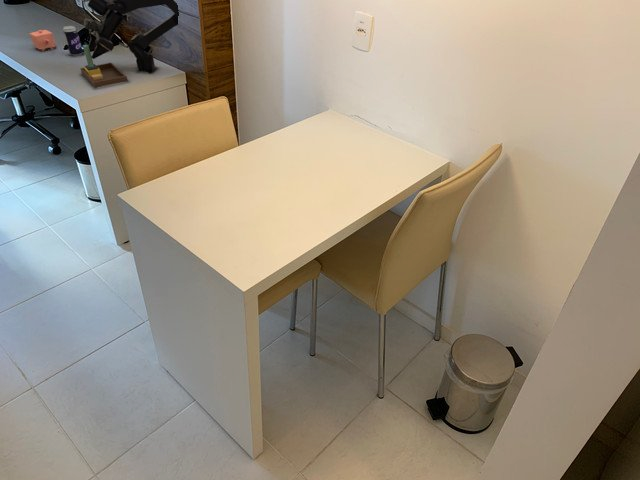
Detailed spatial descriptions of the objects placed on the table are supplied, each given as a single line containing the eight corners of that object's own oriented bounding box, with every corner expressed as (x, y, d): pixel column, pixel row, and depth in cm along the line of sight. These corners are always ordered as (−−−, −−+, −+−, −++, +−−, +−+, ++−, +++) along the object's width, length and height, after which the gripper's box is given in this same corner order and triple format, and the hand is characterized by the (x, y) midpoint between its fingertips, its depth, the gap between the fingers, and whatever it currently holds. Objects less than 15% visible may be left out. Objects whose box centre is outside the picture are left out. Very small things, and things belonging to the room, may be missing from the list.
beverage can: (74, 57, 225) (66, 30, 217) (67, 54, 227) (59, 27, 220) (85, 54, 228) (78, 27, 221) (79, 51, 231) (71, 24, 223)
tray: (81, 74, 208) (80, 68, 207) (112, 68, 215) (111, 62, 213) (95, 88, 197) (93, 82, 195) (127, 82, 203) (126, 76, 201)
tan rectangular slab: (101, 76, 206) (100, 73, 205) (103, 78, 204) (102, 75, 203) (91, 78, 204) (90, 75, 203) (93, 80, 202) (92, 77, 201)
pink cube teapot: (43, 53, 228) (37, 35, 222) (32, 47, 234) (26, 29, 229) (60, 49, 232) (54, 31, 227) (49, 43, 238) (43, 26, 233)
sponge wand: (97, 71, 210) (89, 42, 203) (101, 74, 207) (93, 46, 199) (85, 73, 208) (77, 44, 200) (89, 77, 204) (81, 48, 197)
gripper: (88, 5, 200) (67, 36, 203) (97, 16, 188) (75, 49, 191) (112, 22, 209) (92, 52, 211) (123, 34, 196) (101, 66, 199)
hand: (90, 54), depth 203 cm, fingers open, 9 cm apart
